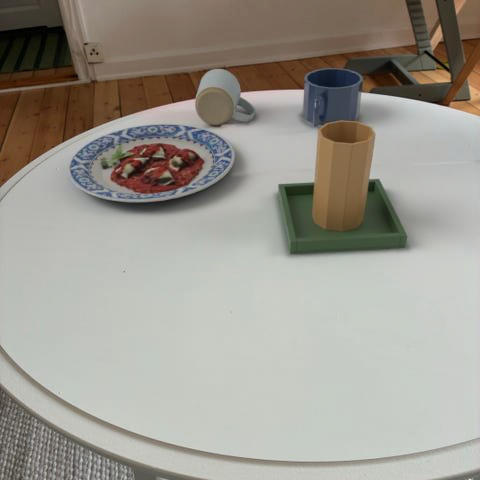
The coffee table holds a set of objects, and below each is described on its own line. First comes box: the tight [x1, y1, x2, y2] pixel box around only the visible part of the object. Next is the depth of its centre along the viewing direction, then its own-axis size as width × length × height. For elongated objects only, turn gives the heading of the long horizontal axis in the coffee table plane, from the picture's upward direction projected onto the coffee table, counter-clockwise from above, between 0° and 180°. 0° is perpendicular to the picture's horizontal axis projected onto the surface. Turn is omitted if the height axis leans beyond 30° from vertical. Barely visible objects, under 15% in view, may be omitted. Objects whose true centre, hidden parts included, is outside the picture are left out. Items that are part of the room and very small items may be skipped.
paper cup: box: [312, 120, 377, 232], centre depth 69 cm, size 7×7×12 cm
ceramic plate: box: [67, 123, 236, 203], centre depth 84 cm, size 26×26×3 cm
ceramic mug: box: [194, 68, 257, 126], centre depth 97 cm, size 11×8×8 cm
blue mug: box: [302, 67, 364, 128], centre depth 95 cm, size 13×10×7 cm
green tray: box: [277, 178, 408, 255], centre depth 73 cm, size 15×15×2 cm
